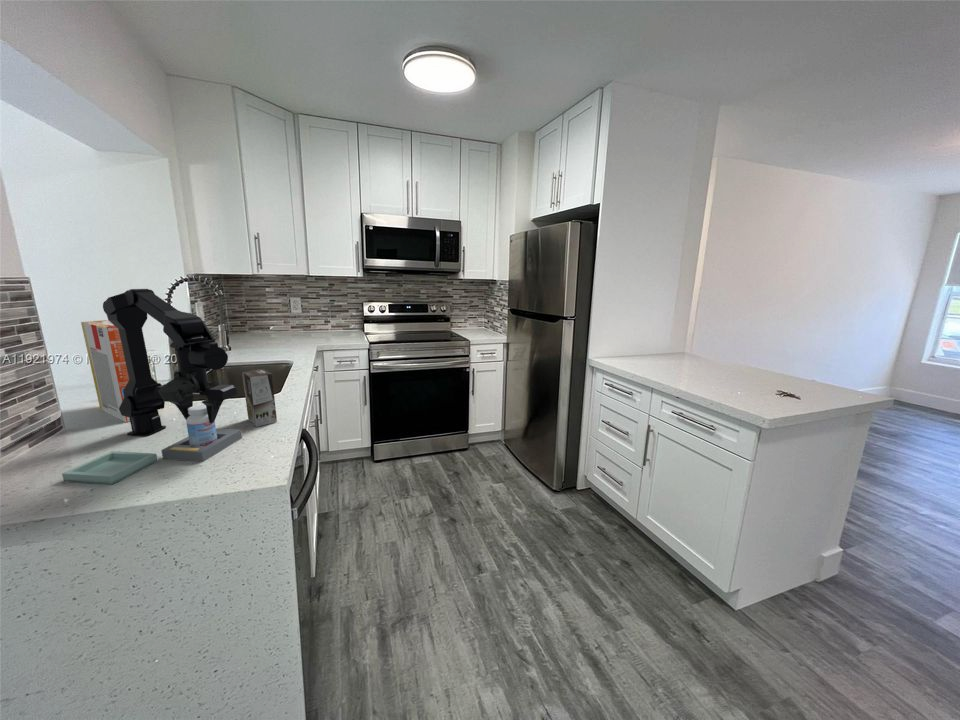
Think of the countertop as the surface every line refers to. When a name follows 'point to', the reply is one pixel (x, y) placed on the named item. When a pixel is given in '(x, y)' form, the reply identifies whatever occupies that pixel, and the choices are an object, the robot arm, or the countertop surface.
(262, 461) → the countertop surface
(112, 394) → the orange cereal box
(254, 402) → the coffee box
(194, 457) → the socket block
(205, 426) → the pill bottle
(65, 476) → the tray
